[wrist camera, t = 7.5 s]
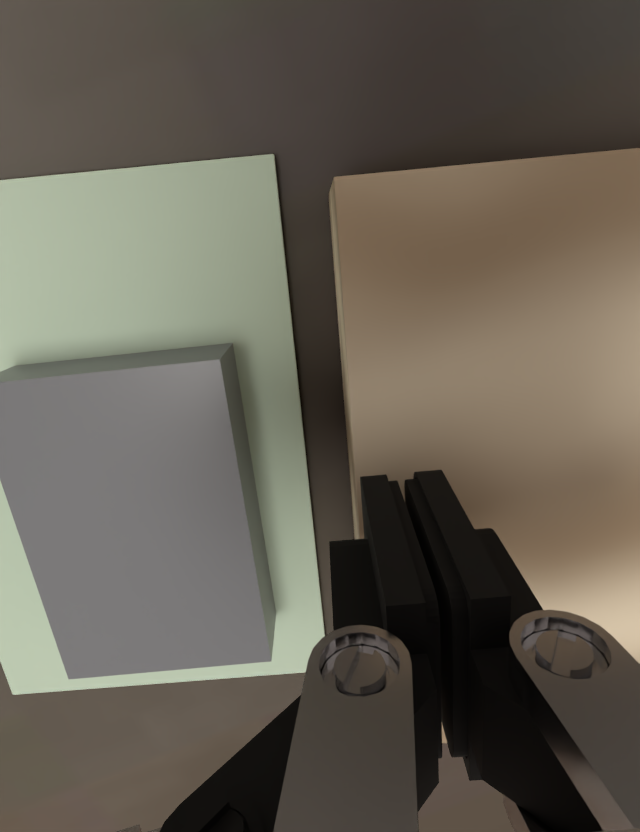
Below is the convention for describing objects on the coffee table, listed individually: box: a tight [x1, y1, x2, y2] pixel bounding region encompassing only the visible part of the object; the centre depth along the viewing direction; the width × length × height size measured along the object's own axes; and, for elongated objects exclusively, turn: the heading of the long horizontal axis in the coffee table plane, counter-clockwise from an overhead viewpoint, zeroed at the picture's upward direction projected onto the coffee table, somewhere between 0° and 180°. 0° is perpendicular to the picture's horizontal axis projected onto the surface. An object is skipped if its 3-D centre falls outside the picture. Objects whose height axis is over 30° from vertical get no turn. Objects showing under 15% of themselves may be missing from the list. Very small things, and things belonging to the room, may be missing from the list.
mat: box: [0, 154, 325, 695], centre depth 15 cm, size 16×11×1 cm
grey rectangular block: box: [0, 343, 276, 679], centre depth 14 cm, size 9×6×2 cm, turn 6°
